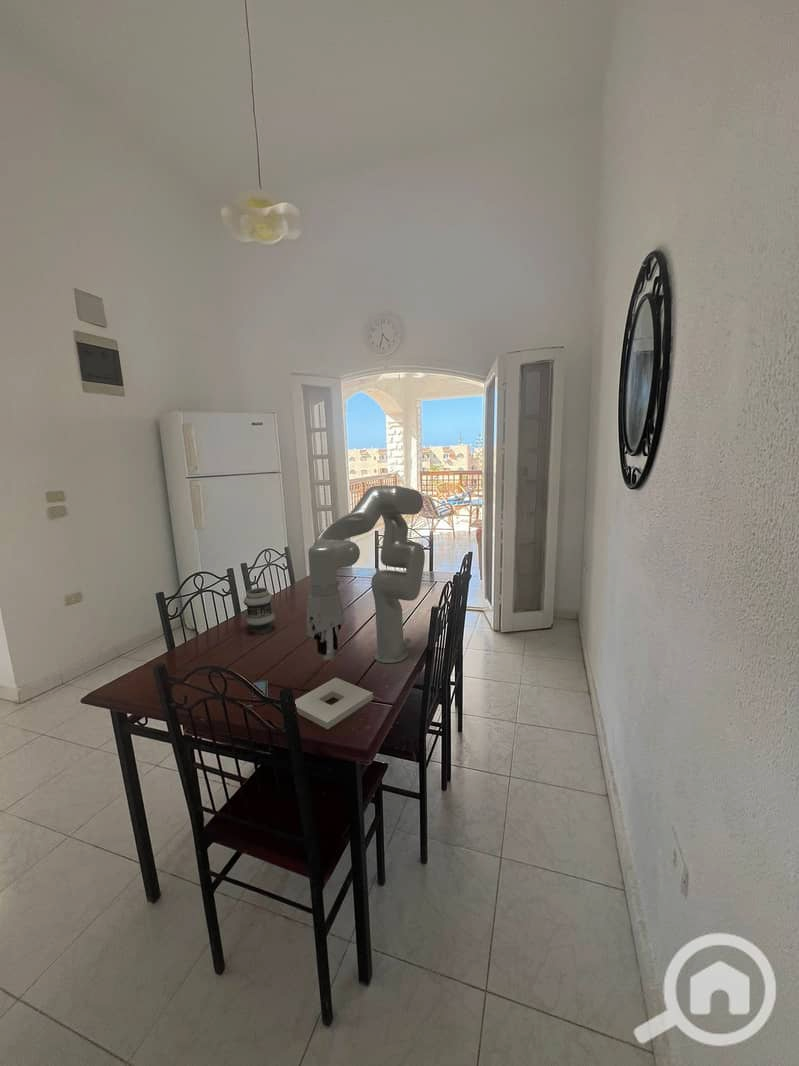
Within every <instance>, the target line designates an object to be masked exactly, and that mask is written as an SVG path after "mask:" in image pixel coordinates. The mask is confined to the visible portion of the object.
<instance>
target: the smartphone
mask: <svg viewBox="0 0 799 1066" xmlns="http://www.w3.org/2000/svg"><path fill="white" fill-rule="evenodd" d="M250 683H253V684H254V685H256V686H257V687H258V688H259V689H260V690H261V691H263V693H264V694H265V695H266V696H269V695H268V688H269V687H268V685H269V684H268V680H266V679H263V680H257V681H252V682H250ZM254 697H255V696H254ZM254 700H255V699H254ZM248 706H249V707H251V708H254V707H253V706H251V705H248Z"/></svg>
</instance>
